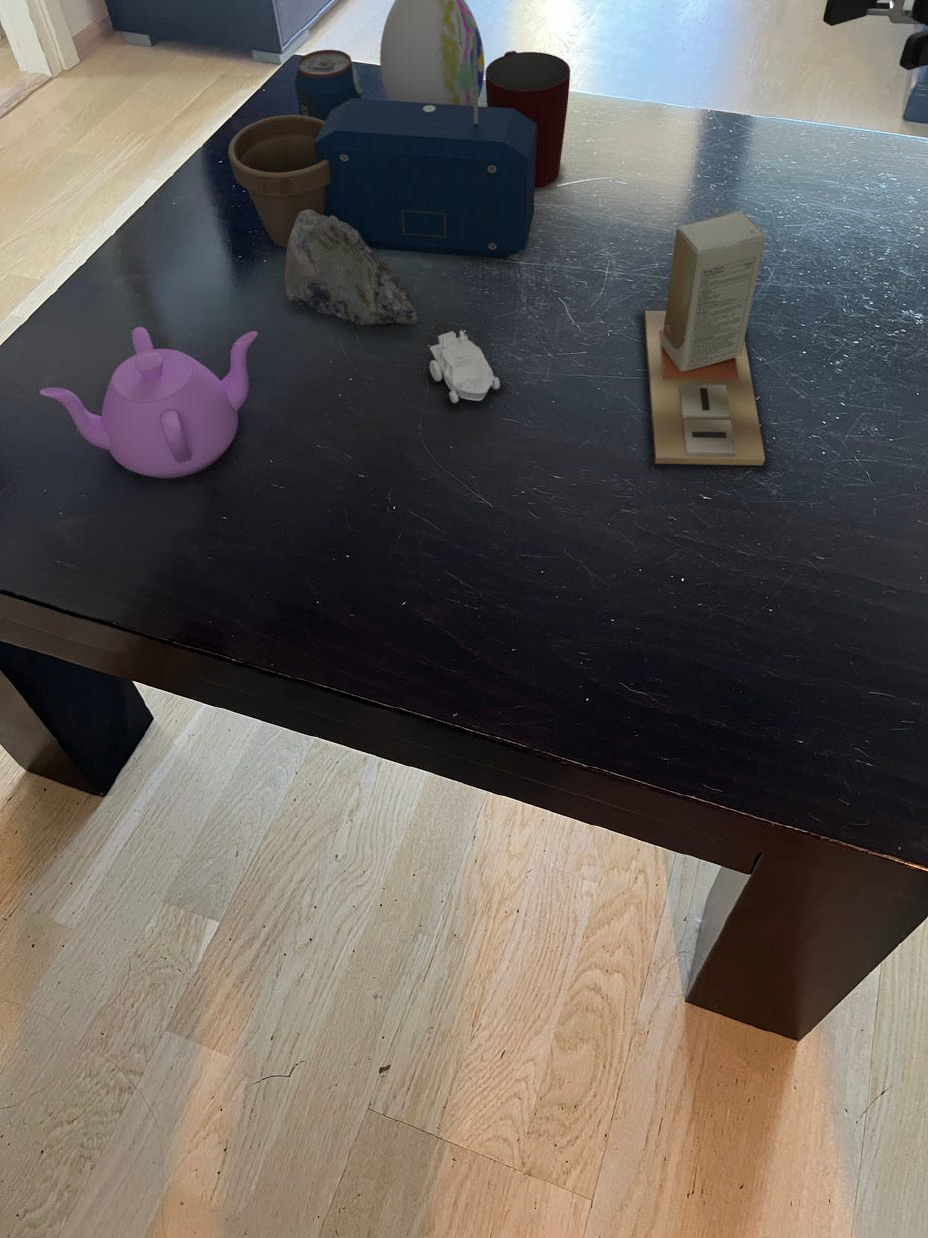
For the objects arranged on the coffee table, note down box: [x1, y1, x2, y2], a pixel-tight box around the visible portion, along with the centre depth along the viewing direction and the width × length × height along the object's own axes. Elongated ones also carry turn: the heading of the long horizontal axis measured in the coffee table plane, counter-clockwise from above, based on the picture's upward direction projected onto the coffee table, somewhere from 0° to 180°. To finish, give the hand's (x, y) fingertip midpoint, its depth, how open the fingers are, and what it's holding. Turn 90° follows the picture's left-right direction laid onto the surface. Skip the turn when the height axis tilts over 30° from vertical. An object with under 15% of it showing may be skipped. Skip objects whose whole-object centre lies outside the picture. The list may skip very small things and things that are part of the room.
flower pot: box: [227, 114, 331, 249], centre depth 101 cm, size 12×11×10 cm
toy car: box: [428, 330, 501, 404], centre depth 87 cm, size 5×8×4 cm, turn 26°
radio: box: [314, 36, 537, 260], centre depth 95 cm, size 21×9×20 cm, turn 80°
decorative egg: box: [379, 0, 485, 106], centre depth 113 cm, size 12×12×15 cm
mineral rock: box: [283, 209, 419, 327], centre depth 92 cm, size 13×11×10 cm
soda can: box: [294, 49, 363, 121], centre depth 107 cm, size 7×7×12 cm
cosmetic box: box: [662, 209, 767, 372], centre depth 84 cm, size 6×4×12 cm
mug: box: [484, 50, 571, 189], centre depth 107 cm, size 12×9×11 cm
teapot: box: [39, 326, 258, 479], centre depth 83 cm, size 12×14×9 cm
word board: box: [643, 310, 766, 466], centre depth 87 cm, size 20×9×1 cm, turn 176°
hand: (866, 30), depth 71 cm, fingers open, 8 cm apart
